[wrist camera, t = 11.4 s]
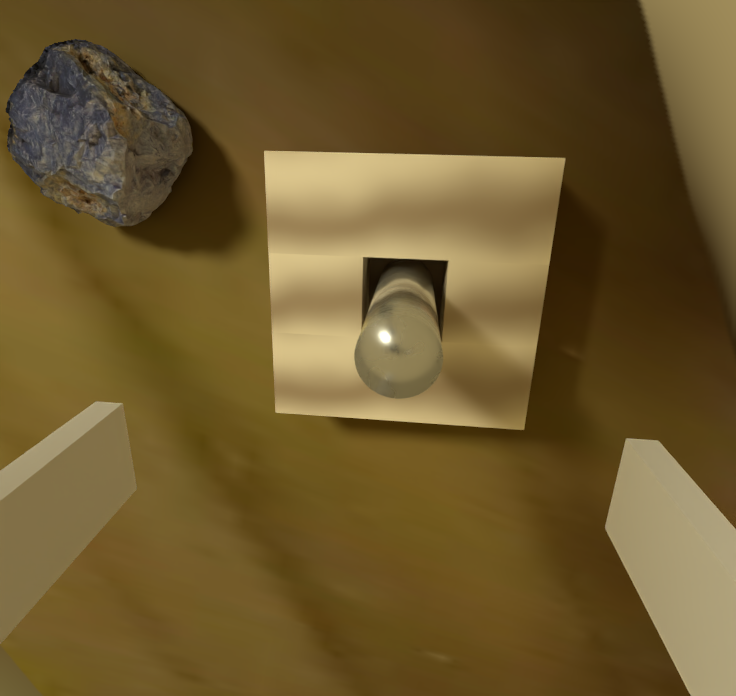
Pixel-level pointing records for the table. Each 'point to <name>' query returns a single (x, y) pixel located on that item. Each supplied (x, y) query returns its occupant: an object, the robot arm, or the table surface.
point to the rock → (96, 134)
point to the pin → (401, 333)
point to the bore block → (409, 241)
